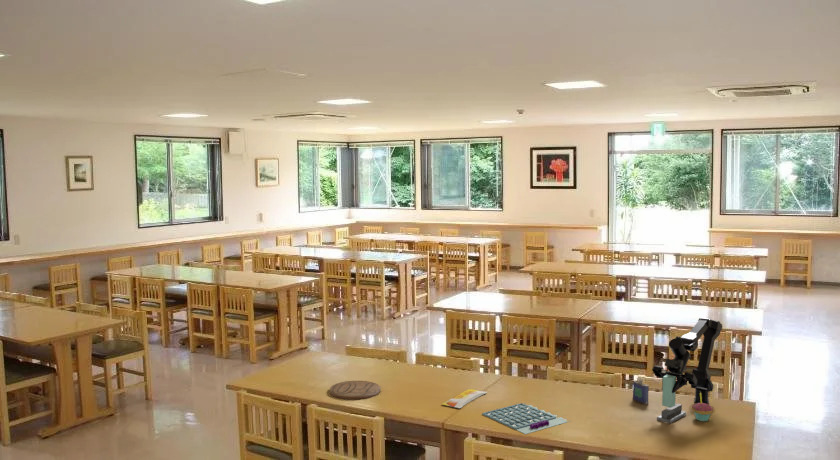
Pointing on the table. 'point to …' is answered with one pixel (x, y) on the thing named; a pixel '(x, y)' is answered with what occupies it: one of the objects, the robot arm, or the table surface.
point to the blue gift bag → (640, 392)
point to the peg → (668, 391)
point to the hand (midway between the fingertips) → (667, 391)
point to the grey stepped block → (671, 414)
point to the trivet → (354, 390)
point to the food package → (464, 398)
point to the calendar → (525, 418)
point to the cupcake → (702, 410)
